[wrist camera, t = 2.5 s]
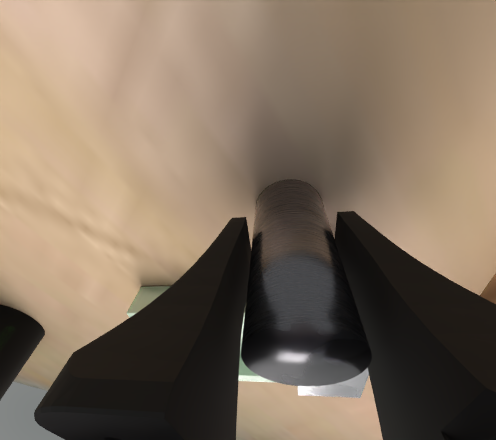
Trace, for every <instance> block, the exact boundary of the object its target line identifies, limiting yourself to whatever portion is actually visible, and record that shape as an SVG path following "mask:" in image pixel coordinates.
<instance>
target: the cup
mask: <svg viewBox="0 0 496 440" xmlns="http://www.w3.org/2000/svg"><path fill="white" fill-rule="evenodd" d="M44 335H45V331H44V329H43V327H42V326H41V325H40V324H39V323H38V322H36V321H35V320H34V319H33V318H31V317H29V316H28V315H26V314H24V313H22V312H20V311H18V310H15V309H13V308H10V307H7V306H3V305H0V400H1V398H2V397H3V395H4V394H5V392H6V391H7V389H8V388H9V387H10V385H11V384H12V382H13V381H14V379H15V378H16V376H17V375H18V373H19V372H20V370H21V369H22V367H23V366H24V364H25V363H26V362H27V360H28V359H29V357H30V356H31V354H32V353H33V351H34V350H35V348H36V347H37V345H38V344H39V342H40V341H41V339H42V338H43V337H44Z"/></svg>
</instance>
